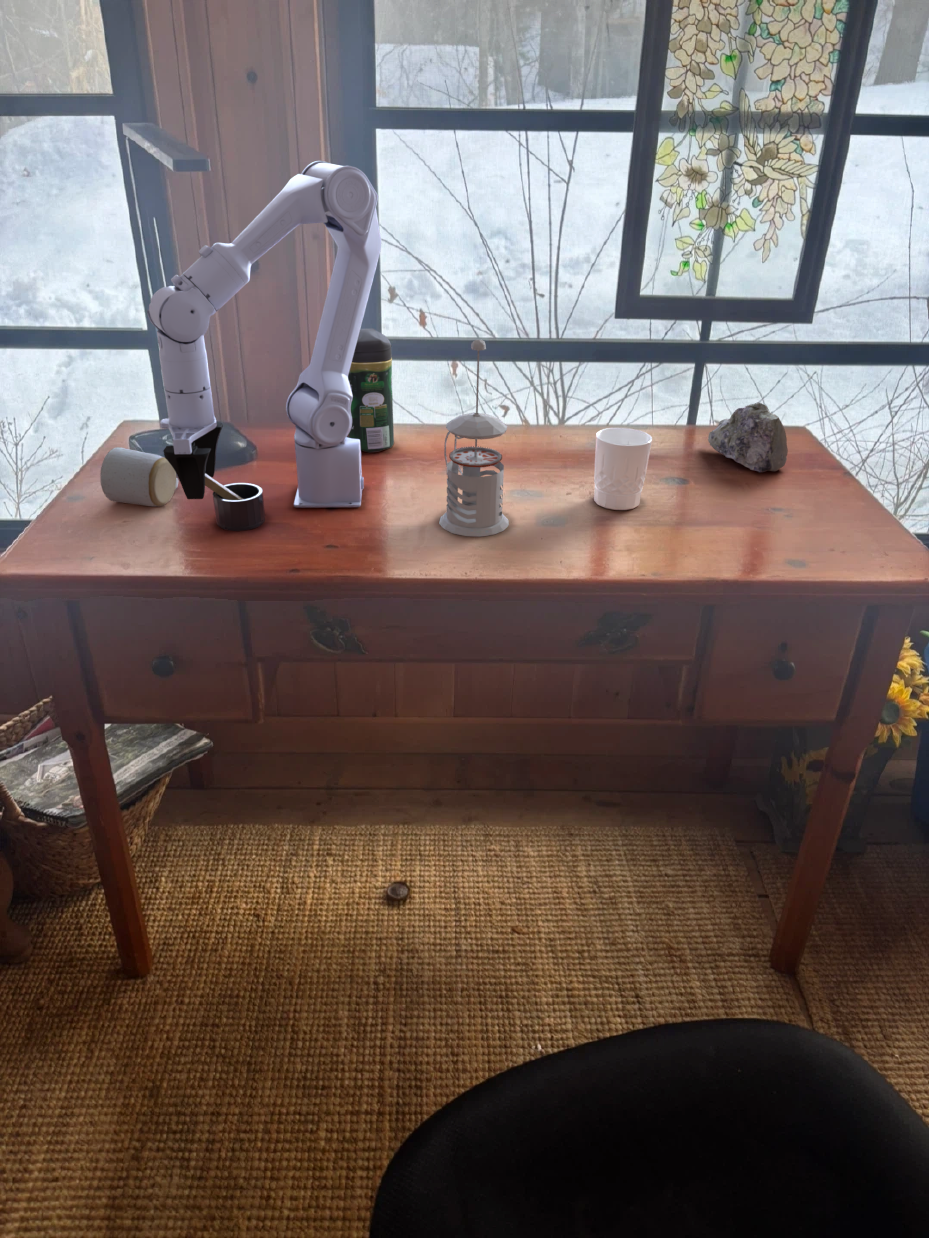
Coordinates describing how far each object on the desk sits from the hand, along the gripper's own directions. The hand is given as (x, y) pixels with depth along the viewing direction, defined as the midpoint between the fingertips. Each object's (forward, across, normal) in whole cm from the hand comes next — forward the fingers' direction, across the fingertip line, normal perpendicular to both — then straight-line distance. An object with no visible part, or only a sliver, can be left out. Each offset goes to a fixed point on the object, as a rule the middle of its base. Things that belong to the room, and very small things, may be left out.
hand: (201, 487), depth 123 cm
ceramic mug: (+5, -8, -10) cm, 14 cm away
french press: (+5, 0, +37) cm, 37 cm away
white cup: (+5, -6, +59) cm, 59 cm away
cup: (+5, 0, +5) cm, 7 cm away
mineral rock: (+5, -23, +84) cm, 87 cm away
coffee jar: (+5, -31, +22) cm, 38 cm away
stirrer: (0, 0, +2) cm, 2 cm away
